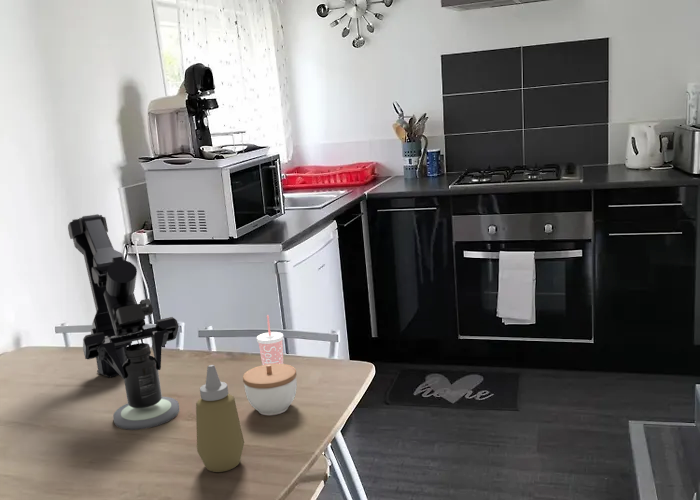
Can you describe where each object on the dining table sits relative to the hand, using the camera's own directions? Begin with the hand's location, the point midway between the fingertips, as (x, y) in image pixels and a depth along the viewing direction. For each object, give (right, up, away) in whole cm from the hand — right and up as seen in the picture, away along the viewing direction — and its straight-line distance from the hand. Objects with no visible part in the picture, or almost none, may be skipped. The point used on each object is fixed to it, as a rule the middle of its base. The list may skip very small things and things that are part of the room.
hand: (142, 373), depth 138 cm
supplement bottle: (0, -7, +3) cm, 7 cm away
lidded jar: (+26, -8, +1) cm, 27 cm away
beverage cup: (+24, -4, +21) cm, 32 cm away
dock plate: (0, -9, +3) cm, 10 cm away
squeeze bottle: (+20, -12, -20) cm, 31 cm away
